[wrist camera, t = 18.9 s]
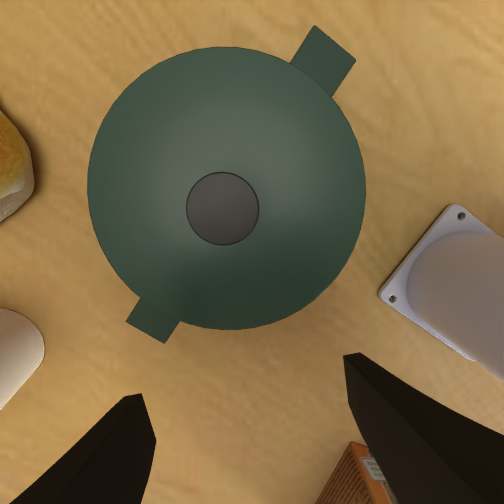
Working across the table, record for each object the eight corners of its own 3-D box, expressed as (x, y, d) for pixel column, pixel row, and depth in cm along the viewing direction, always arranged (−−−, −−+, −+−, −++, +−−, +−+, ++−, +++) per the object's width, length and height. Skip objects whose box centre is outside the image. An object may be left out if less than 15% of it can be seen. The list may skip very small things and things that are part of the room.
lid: (409, 167, 14) (490, 158, 9) (262, 360, 16) (268, 429, 11) (186, -8, 12) (151, -129, 7) (54, 236, 14) (-38, 260, 9)
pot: (381, 138, 18) (441, 117, 13) (235, 338, 21) (232, 392, 15) (232, 19, 16) (225, -65, 11) (95, 254, 19) (36, 281, 14)
